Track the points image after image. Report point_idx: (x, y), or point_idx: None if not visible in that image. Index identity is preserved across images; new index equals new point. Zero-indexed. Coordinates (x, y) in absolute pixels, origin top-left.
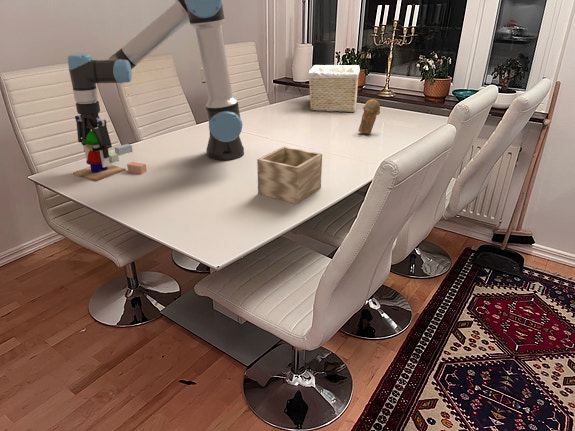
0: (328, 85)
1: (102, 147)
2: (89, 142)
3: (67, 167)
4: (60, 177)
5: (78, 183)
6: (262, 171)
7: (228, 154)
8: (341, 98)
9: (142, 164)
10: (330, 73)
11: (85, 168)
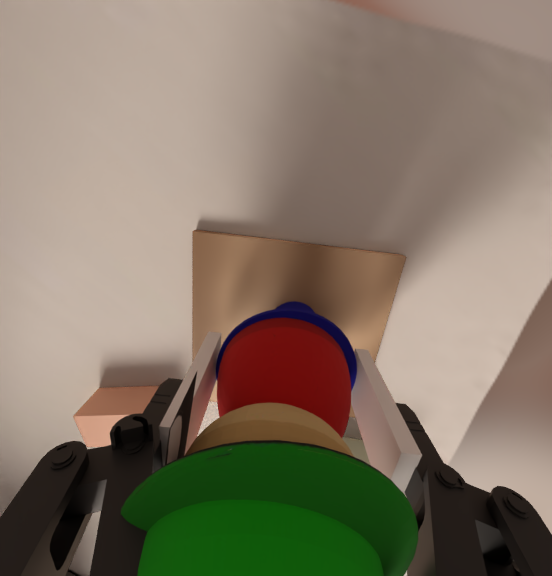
0: None
1: (116, 455)
2: (223, 480)
3: (501, 314)
4: (440, 179)
5: (261, 154)
6: None
7: None
8: None
9: (93, 438)
10: None
11: (378, 330)
